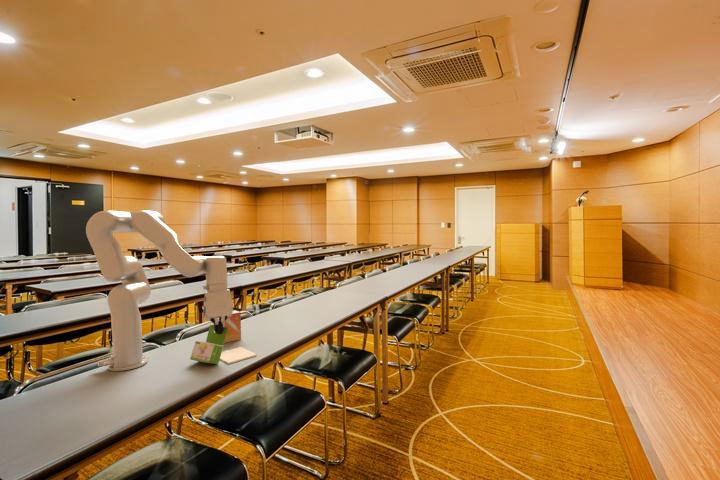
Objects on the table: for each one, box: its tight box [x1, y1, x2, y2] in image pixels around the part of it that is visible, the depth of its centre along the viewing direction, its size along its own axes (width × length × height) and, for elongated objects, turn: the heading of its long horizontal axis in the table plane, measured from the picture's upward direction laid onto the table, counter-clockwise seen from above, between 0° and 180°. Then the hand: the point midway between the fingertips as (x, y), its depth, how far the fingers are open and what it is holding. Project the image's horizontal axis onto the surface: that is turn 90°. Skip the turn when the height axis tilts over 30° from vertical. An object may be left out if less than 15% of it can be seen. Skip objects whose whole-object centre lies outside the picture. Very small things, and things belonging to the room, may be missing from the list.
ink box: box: [189, 324, 228, 365], centre depth 137 cm, size 10×5×14 cm, turn 65°
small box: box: [223, 309, 242, 344], centre depth 165 cm, size 8×6×13 cm
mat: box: [219, 346, 258, 365], centre depth 143 cm, size 12×14×1 cm
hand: (218, 333), depth 138 cm, fingers closed
